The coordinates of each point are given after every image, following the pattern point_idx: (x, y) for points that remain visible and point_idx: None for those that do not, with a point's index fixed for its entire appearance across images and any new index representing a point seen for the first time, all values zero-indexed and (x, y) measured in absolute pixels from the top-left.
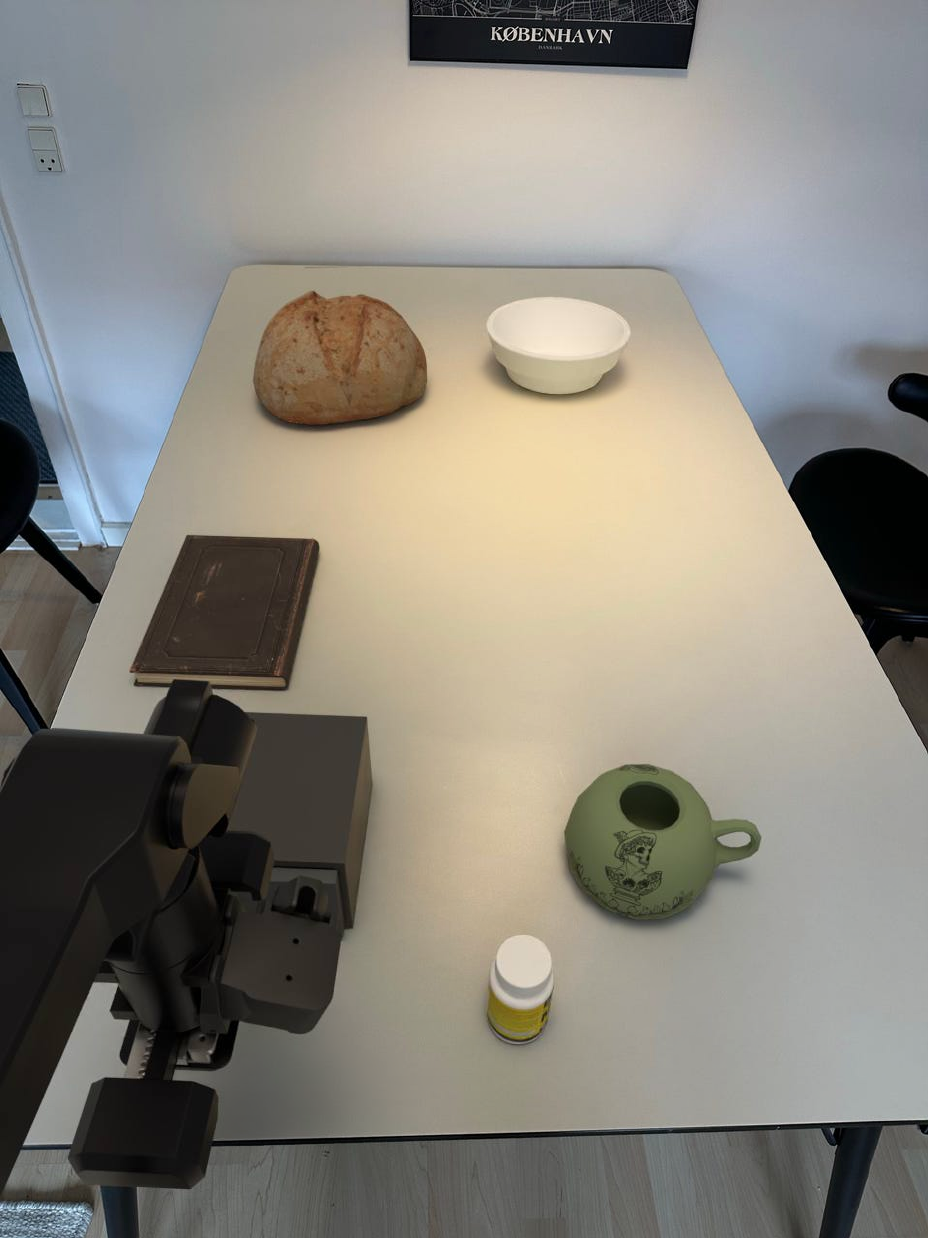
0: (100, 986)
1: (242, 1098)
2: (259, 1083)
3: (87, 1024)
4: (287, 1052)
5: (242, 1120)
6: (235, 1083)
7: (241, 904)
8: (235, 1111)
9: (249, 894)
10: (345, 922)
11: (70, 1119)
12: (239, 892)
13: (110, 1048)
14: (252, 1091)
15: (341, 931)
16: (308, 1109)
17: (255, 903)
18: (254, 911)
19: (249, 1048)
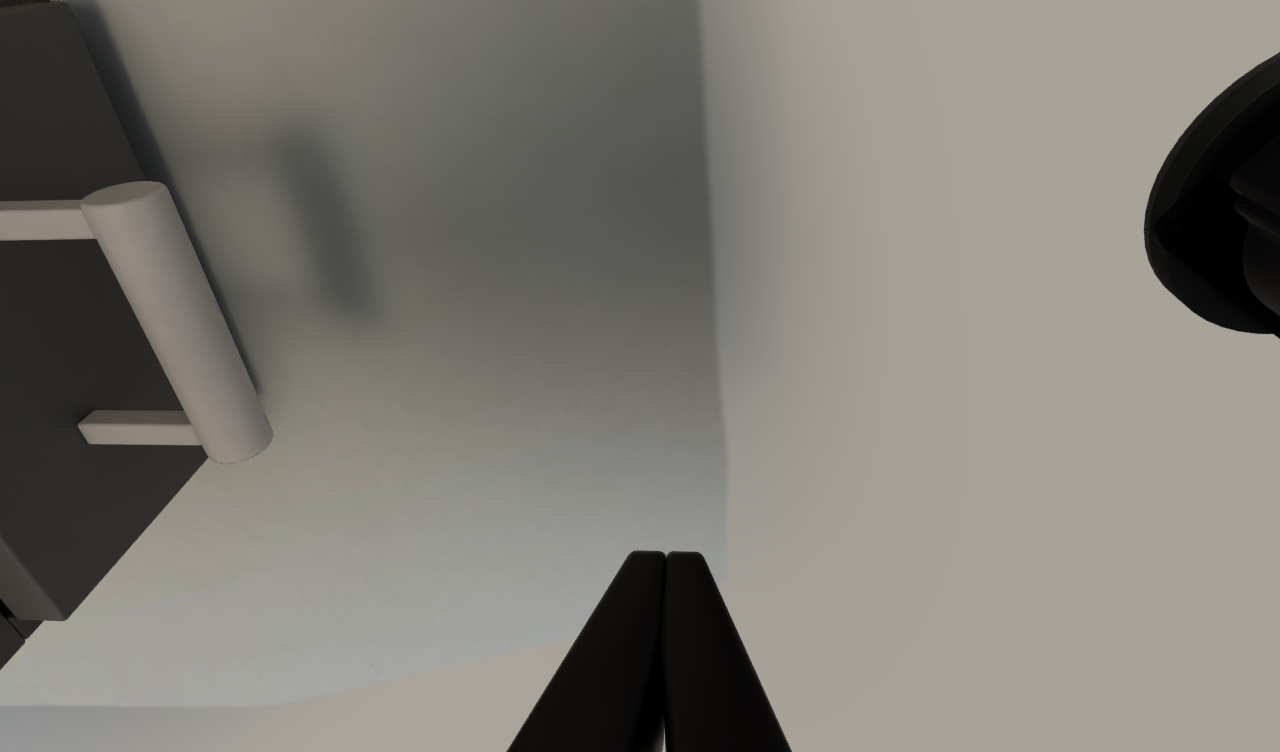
0: (444, 545)
1: (627, 215)
2: (584, 179)
3: (521, 547)
4: (488, 116)
5: (682, 202)
6: (593, 241)
7: (95, 389)
8: (661, 225)
9: (25, 398)
10: (16, 2)
11: (700, 530)
12: (34, 433)
13: (559, 502)
14: (607, 193)
15: (42, 9)
16: (638, 10)
17: (63, 354)
18: (105, 336)
19: (500, 226)
